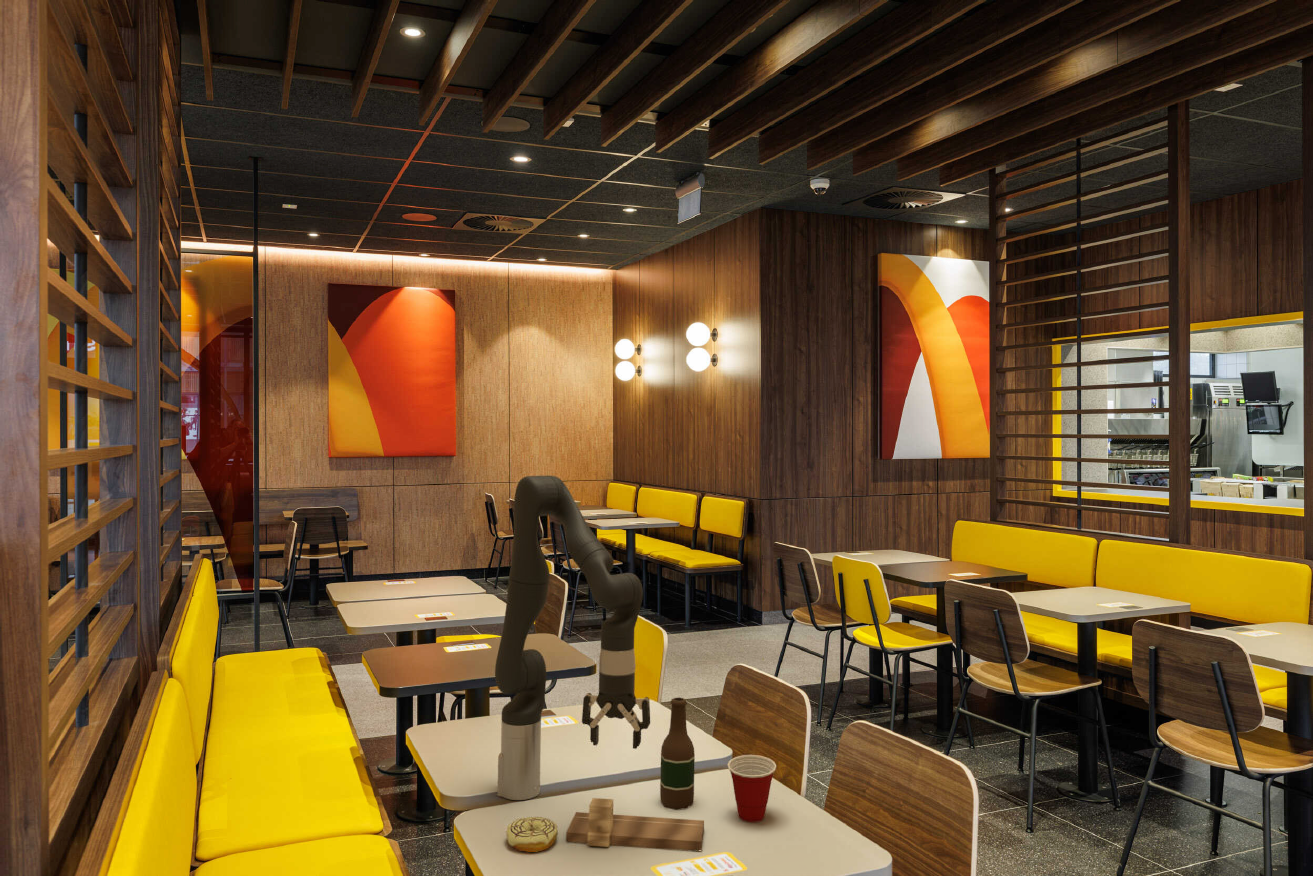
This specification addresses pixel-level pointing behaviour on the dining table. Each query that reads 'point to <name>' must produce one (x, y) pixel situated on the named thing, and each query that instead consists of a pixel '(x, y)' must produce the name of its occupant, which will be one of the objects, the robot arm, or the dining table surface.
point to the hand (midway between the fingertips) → (615, 746)
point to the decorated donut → (532, 834)
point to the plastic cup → (751, 785)
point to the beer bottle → (677, 761)
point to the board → (643, 832)
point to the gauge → (600, 822)
